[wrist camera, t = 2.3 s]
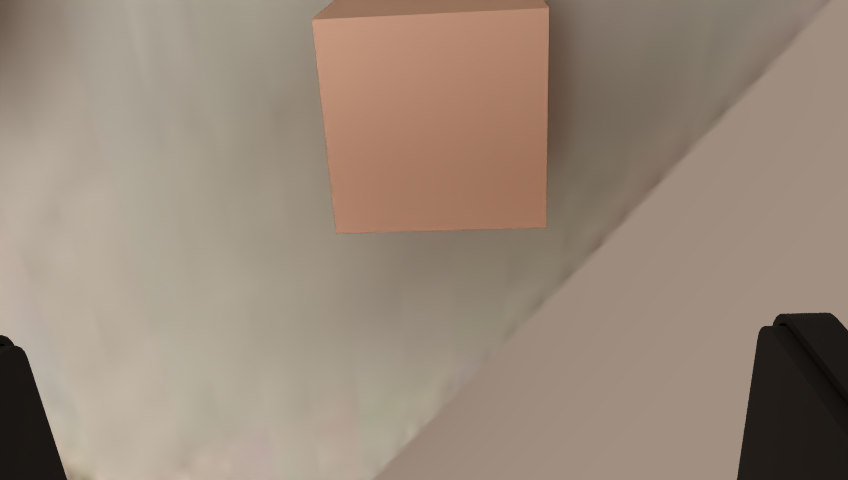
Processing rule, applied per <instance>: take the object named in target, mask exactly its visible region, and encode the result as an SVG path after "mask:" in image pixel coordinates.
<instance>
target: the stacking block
mask: <svg viewBox="0 0 848 480" xmlns="http://www.w3.org/2000/svg"><path fill="white" fill-rule="evenodd" d="M312 26H313V35H314V44H315V52H316V61H317V70H318V79H319V87H320V96H321V105H322V114H323V122H324V131H325V140H326V148H327V157H328V166H329V175H330V183H331V192H332V201H333V210H334V218H335V227H336V234H338V233H373V232H408V231H443V230H477V229H512V228H546V187H547V119H548V51H549V7H548V6H547V4H546V3H545V1H544V0H334V1H333V2H332V3H331V4H330V5H328V6H327V7H326V8H325V9H324V10H323V11H321V12H320V13H319V14H318V15H317V16H315V17H314V18H313V19H312Z"/></svg>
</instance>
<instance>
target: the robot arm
mask: <svg viewBox="0 0 848 480" xmlns="http://www.w3.org/2000/svg"><path fill="white" fill-rule="evenodd" d="M0 480H67V478H66V475H65V472H64V469H63V466H62V463H61V459H60V456H59V453H58V450H57V447H56V444H55V441H54V438H53V435H52V432H51V429H50V426H49V423H48V420H47V416H46V413H45V410H44V407H43V404H42V401H41V398H40V395H39V392H38V389H37V386H36V383H35V380H34V376H33V373H32V370H31V367H30V364H29V361H28V358H27V356H26V353H25V351H24V350H23V349H22V348H21V347H18V346H14V344H13V342H12V341H11V340H10V339H9V338H8V337H5V336H3V335H0ZM737 480H848V330H847V329H846V328H845V327H844V326H843V325H842V323H841V322H840V321H839V320H838V319H837V318H836V317H835V316H834V315H832V314H831V313H797V314H780V315H778V316H777V317H776V319H775V321H774V322H773V326H764V327H762V328H761V330H760V332H759V335H758V340H757V346H756V354H755V360H754V367H753V374H752V381H751V388H750V394H749V401H748V408H747V415H746V422H745V429H744V435H743V442H742V449H741V456H740V463H739V470H738V477H737Z"/></svg>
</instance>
